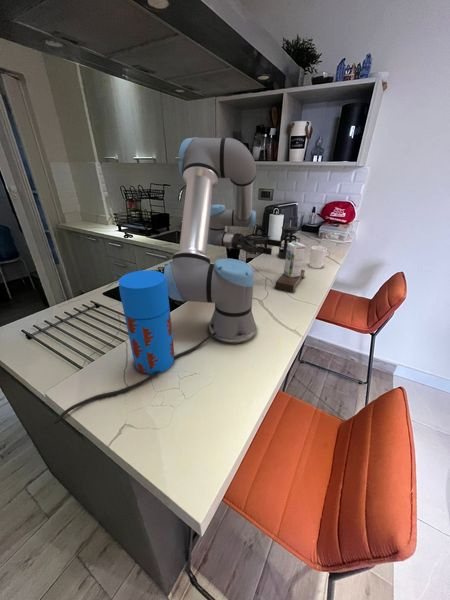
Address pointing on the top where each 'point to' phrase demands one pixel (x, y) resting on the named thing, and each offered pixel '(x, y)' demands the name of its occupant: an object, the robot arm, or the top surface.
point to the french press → (287, 230)
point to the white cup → (317, 256)
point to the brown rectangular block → (288, 282)
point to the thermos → (148, 319)
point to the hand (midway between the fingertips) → (276, 247)
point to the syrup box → (294, 259)
